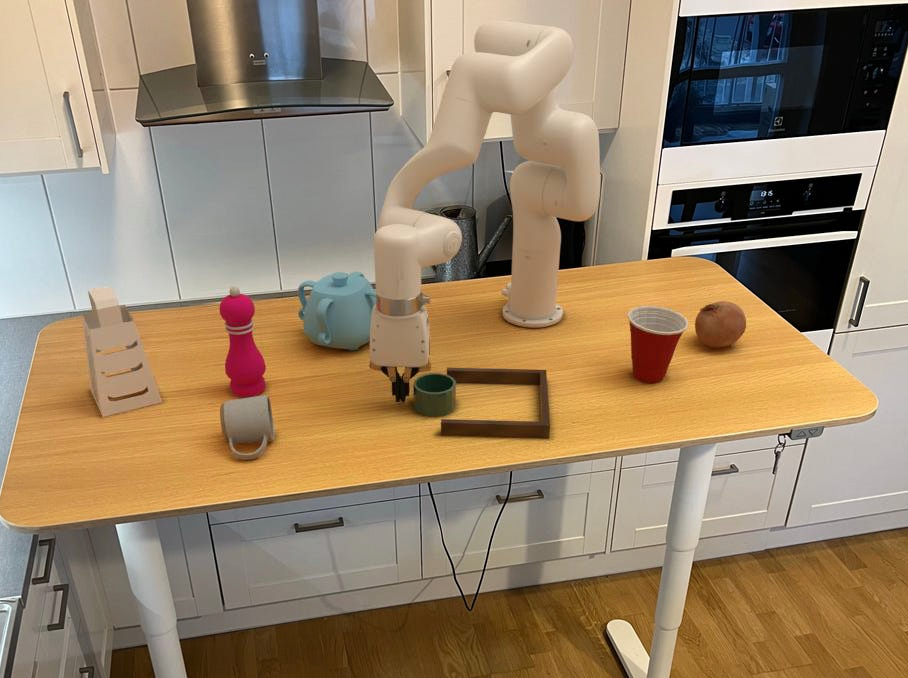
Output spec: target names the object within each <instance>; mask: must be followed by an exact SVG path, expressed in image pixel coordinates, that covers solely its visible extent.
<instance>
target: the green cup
mask: <svg viewBox="0 0 908 678" xmlns="http://www.w3.org/2000/svg"><path fill="white" fill-rule="evenodd" d="M412 390H413V408H414V410H415V411H416V412H417V413H418V414H419V415H422V416H424V417H425V416H426V417H431V418H434V417H435V418H437V417H444V416H447V415H450V414H452V413H453V412H454V411H455V409H456V406H457V383H456V381H455V380H454V379H453V378H452V377H450V376H449V375H447V373H439V372H428V373H425V374H422V375H419V376H417V377H416V378H414V380H413V384H412Z"/></svg>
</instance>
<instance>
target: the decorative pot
mask: <svg viewBox="0 0 908 678" xmlns="http://www.w3.org/2000/svg"><path fill="white" fill-rule="evenodd" d="M309 287H310V288H311V291H310V293H309V296H308V298H307V297H306V294H305V288H309ZM297 297H298V300H299V303H300V305H301V308H299V309H298V311H297V314H298V318H299V319H300V320H301V321H303V323H302V324H303V325H302V326H303V327H302V328H303V332H304V334H305V335H306V337H307V338H308V339H309V341H311V342H312V343H313V344H315V345H318V346H321V347H327V348H332V349H340V350H341V349H342V350H343V349H345V350H348V351H357V350H358V349H360V347H361V346H363V345H365V344H367V343H368V342H369V343H370V325H371V315H372V309H373V306H374V305H376V288H374V287H373V286H372V284H371V282H370V281H369V279H368V278H366V277H365V275H364V273H362V272H360V271H352V272H350V274H349V273H348V272H344V271H337V272H333V273H331V274H328V275H325V276H323V277H322V278H320V279H319V280H317V281H315V280H306V281H305V280H304V281H303V282H301V283H300V284H299V286H298V288H297Z"/></svg>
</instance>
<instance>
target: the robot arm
mask: <svg viewBox="0 0 908 678" xmlns="http://www.w3.org/2000/svg"><path fill="white" fill-rule="evenodd" d="M476 29H477V30H476V31H475V34H474V40H473V45H474V51H472V52H466V53H463V54H461V55H459V56H458V57H457V58H456V59H455V60H454V62H453V64H452V66H451V68H450V70H449V74H448V77H447V80H446V83H445V87H444V90H443V93H442V96H441V100H440V103H439V106H438V110H437V113H436V116H435V119H434V123H433V126H432V129H431V132H430V135H429V138H428V141H427V142H426V144H425V146H423V147H422V148H421V149H420V150H419V151H418V152H416V153H415V154H414V155H412V157H410V159H409V160H408V161H407V162H406V163H405V164H404V165H403V166H402V167H401V168H400V170H399V171H398V172H397V173H396V174H395V175H394V177H393V178H392V180H391V182H390V184H389V186H388V188H387V191H386V194H385V197H384V201H383V204H382V208H381V212H380V214H379V219H378V225H377V230H376V232H375V233H374V237H373V257H374V281H375V282H374V283H375V290H376V305H374V306H373V309H372V315H371V325H370V341H369V365H368V367H369V368H368V369H370V370H374V371H378V372H381V373H383V374H384V375H385V376H386V377H387V378H388V379H389V381H390V382H391V396H392V397H393V396H394V397H395V403H400V402H401V403H404V404H405V402H406V397H410V390H411V389H410V387H411V386H410V384H411V383H410V381H411V379H412V378H414V377H416V375H418V373H425V372H429V371H431V369H432V362H431V358H430V355H431V333H430V323H429V314H428V310H427V307H426V306H425V305H431V295H426V294H424V292H423V289H422V269H424V268H426V267H433V266H437V265H443V264H444V263H447V262H448V261H450V260H452V259H453V258H454V257H455V256H456V255H457V254H458V252H459V250H460V248H461V246H462V241H463V234H462V231H461V228H460V226H459V225H458V224H457V223H456V222H455V221H453V220H452V219H450V218H447V217H445V216H441V215H437V214H433V213H428V212H425V211H420V210H416V209H413V208H414V205H415V202H416V200H417V198H418V196H419V195H420V193H421V192H422V190H423V189H424V188H425V187H426V186H427V185H428V184H430V182H432V181H434V180H435V179H437V178H438V177H441V176H443V175H447V174H448V173H452V172H454V171H457V170H461V169H464V168H467V167H470V166H472V165H474V164H475V163H476V162H477V160H478V159H479V156H480V152H481V149H482V145H483V142H484V139H485V137H486V133H487V130H488V127H489V124H490V120H491V117H492V116H493V115H492V114H493V113H499V114H505V115H510V122H511V123H510V124H511V133H512V134H511V135H512V142H513V146H514V150H515V152H516V154H517V155H518V156H519V157H521V158H522V159H525V161H524V162H521V163H519V164H518V165H517V166H516V167H515V168H514V170H513V171H512V173H511V176H510V180H509V195H510V202H511V209H512V223H513V225H512V227H513V229H512V253H511V254H512V255H511V277H510V280H511V281H510V282H508V283H507V284H506V286H505V288H502V289H501V292H500V293H501V295H502V296H504V297H507V303H506V304H505V305H504V306H503V307H502V314H501V315H502V317H503V318H504V320H505V321H507V322H508V323H510V324H512V325H515V326H518V327H523V328H531V329H532V328H534V329H535V328H536V329H537V328H547V327H550V326H553V325H555V324H558V323H559V322H561V321H562V319H563V317H564V310H563V308H562V307H561V305H559V304H558V303H557V298H558V297H557V296H558V283H559V281H558V280H559V271H560V270H559V269H560V255H561V244H562V231H561V228H560V227H561V226H560V224H559V221H558V219H563V220H566V221H571V222H572V221H573V222H585V221H587V220H589V219H591V217H592V216H593V215H594V214H595V213H596V211H597V209H598V206H599V203H600V196H601V159H600V158H601V157H600V153H601V152H600V134H599V129H598V127H597V124H596V123H595V121H594V119H592V117H590V116H589V115H588V114H585V113H582V112H577V111H572V110H565V109H562V108H561V107H560V106H559V104H558V96H557V86H558V85H559V84H560V83H561V82H562V81H563V80H564V78H566V76H567V74H568V72H569V71H570V68H571V66H572V63H573V60H574V53H575V51H574V49H575V48H574V43H573V40H572V37H571V35H570V34H569V33H568V32H567V31H566V30H564V29H563V28H561V27H558V26H552V25H545V24H544V25H543V24H533V23H527V22H521V21H512V20H502V19H493V20H488V21H486V22H483V23H482V24H481V25H479V27H478V28H476ZM557 218H558V219H557ZM398 368H404V370H403V372H402V374H401V373H400V372H399V369H398Z"/></svg>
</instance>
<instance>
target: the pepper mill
mask: <svg viewBox="0 0 908 678" xmlns="http://www.w3.org/2000/svg"><path fill="white" fill-rule="evenodd" d="M228 292H229V294H227V295H226V296H224V298H222V300H221V301H220V303H219V315H220V317H221V319H222V320H224V326H225V327H224V329H225V332H226V333H228V338H229V348H228V351H227V355H226V357H225V362H224V373H225V375H226V377H227V378H228V379H229V380H230V381H229V386H230V387H229V388H230V392H231V393H232V395H234V396H237V397H239V398H249V397H256V396H260V394H262V393H263V392H264V391H265V390H266V379H265V377H264V375H265V373H266V369H267V366H266V362H265V358H264V356H263V355H262V352H261V351H260V349H259V348H258V346H257V345H256V342H255V339H254V336H253V331H254V329H255V324H254V319H253V317H254V316H255V312H256V307H255V303H254V301H253V299H252V298H251V297H250V296H248V295H246V294H244V293H241V291H240V288H239V287H238V286H232V287H230V288H229V291H228Z"/></svg>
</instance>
